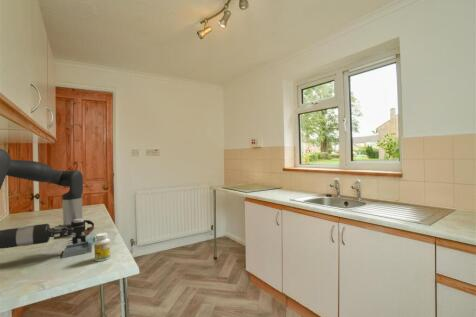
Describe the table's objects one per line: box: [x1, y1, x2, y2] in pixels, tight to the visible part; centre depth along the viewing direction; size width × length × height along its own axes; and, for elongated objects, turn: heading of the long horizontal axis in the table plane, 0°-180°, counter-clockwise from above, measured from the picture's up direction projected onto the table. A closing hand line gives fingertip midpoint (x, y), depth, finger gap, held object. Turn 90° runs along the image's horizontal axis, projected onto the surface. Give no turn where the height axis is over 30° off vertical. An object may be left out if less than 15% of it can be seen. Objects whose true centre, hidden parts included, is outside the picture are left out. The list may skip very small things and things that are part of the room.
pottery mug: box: [69, 219, 95, 237], centre depth 126 cm, size 12×10×8 cm
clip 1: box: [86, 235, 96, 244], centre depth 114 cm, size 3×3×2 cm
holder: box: [61, 236, 93, 259], centre depth 103 cm, size 9×10×4 cm
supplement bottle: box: [93, 232, 111, 262], centre depth 94 cm, size 5×5×10 cm
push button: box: [67, 217, 87, 245], centre depth 103 cm, size 7×5×10 cm
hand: (84, 227), depth 104 cm, fingers closed on push button, 3 cm apart
